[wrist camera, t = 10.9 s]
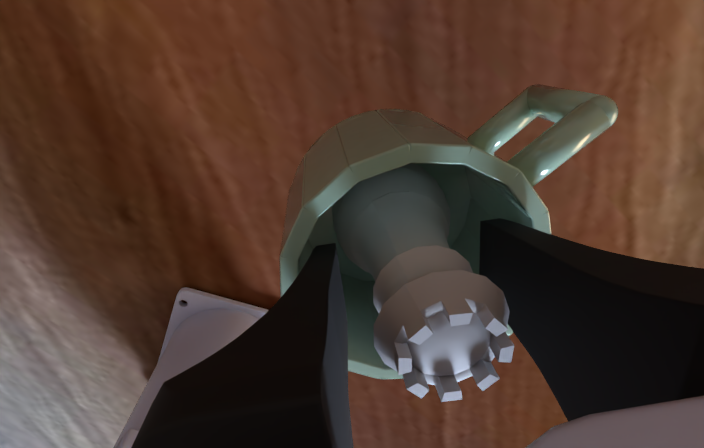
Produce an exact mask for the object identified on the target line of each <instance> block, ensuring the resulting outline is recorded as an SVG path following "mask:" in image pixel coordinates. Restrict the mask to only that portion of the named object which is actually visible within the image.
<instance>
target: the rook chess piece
mask: <svg viewBox="0 0 704 448" xmlns="http://www.w3.org/2000/svg"><path fill="white" fill-rule="evenodd" d="M332 210H333V224H334V230H335V232H336V234H337V240H338V242H339V244H340V245H341V247H342V249H343V251H344V252H345V254H346V256H347V257H348V258H349V260H350V261H352V262H353V263H355V264H356V265H357V266H359V267H360V268H361V269H363V270H364V271H365V272H369V273H370V274H371V275H372V276H373V278H374V280H375V284H374V287H373V302H374V306H375V308H376V309H377V311H378V313H379V315H378V317H377V319H376V321H375V323H374V347H375V349H376V351H377V352H378V354H379V356H380V357H381V359H382V361H383V362H384V364H386V365H387V366H389V367H391V368H392V369H394V370H395V371H397V372H398V375H401V374H402V375H403V378H404V381H405V385H406V389H407V390H409V391H410V392H412V393H414V394H415V395H417V396H419V397H420V398H423V396H424V395H425V394H426V393H427V392H428V391H429V388H428V385H427V384H431V385H435V386H436V389H437V392H438V395H439V397H440V400H441V402H444V401H453V400H461V399H462V394H461V390H460V387H459V385H458V383H457V382H459V381H461V380H464V379H466V378H468V377H471V376H473V377H474V379H475V381H476V383H477V385H478V386H479V387H480V389H481V390H482V391H484V390H485V389H486V388H488V387H489V386H490V385H492V384H493V383H494V382H496V381H497V380H498V379H500V378H499V376H498V374H497V373H496V371H495V369H494V367H493V366H492V364H491V361H492V360H493V358H494V357H496V358H497V360H498V362H511V359H512V354H513V349H514V344H513V343H512V341H511V340H510V338H509V337H508V335H507V334H506V331H507V330H509V329H508V328H507V323H508V318H509V312H510V311H509V308H508V305H507V302H506V299H505V296H504V293H503V291H502V290H501V289H500V288H498V287H497V286H496V285H495V284H494V283H493V282H492V281H490V280H489V279H488V278H487V277H486V276H482V275H478V274H475V273H473V271H472V269H471V266H470V263H469V262H468V261H467V260H466V259H465V258H464V257H463V256H461V255H460V254H459V253H458V252H457V251H455V250H452V249H450V248H449V245H448V242H447V237H448V235H449V228H450V215H451V214H450V208H449V206H448V203H447V200H446V198H445V195H444V192H443V190H442V189H441V188H440V187H439V185H438V183H437V181H436V180H435V179H434V178H433V177H432V176H431V175H430V174H429V173H428V172H427V171H426V170H425V169H424V168H423V167H421V166H418V165H416V164H413V163H409V164H406V165H404V166H401V167H398V168H396V169H393V170H390V171H387V172H385V173H382V174H379V175H376V176H374V177H371V178H368V179H365V180H363V181H360V182H358V183H357V184H356V185H355V186H353V187H352V188H351V189H350V190H349V191H348V192H347V193H345V194H344V195H343V196H342V197H341V198H340V199H339V200H338V201H336V202H335V203H334V206H333V209H332Z"/></svg>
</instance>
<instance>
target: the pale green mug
mask: <svg viewBox="0 0 704 448" xmlns="http://www.w3.org/2000/svg"><path fill="white" fill-rule="evenodd" d="M617 116H618V107H617V104H616V103H615V101H614V100H613V99H611V98H609V97H607V96H603V95H598V94H592V93H586V92H580V91H575V90H569V89H563V88H557V87H552V86H546V85H540V84H536V85H532V86H530V87H528V88H526V89H525V90H524V91H523V92H522V93H520V94H519V95H518V96H517V97H516V98H514V99H513V100H512V101H511V102H510V103H508V104H507V105H506V106H505V107H504V108H503V109H501V110H500V111H499V112H498V113H497V114H495V115H494V116H493V117H492V118H491V119H489V120H488V121H487V122H486V123H485V124H483V125H482V126H481V127H480V128H479V129H478V130H476V131H475V132H474V133H473V134H472V135H470V136H469V137H468V138H466V137H465V136H463V135H461V134H460V133H458V132H456V131H455V130H453V129H451V128H449V127H447V126H445V125H443V124H441V123H439V122H437V121H436V120H434V119H432V118H430V117H428V116H426V115H424V114H422V113H418V112H412V111H408V110H400V109H380V110H374V111H367V112H364V113H361V114H358V115H354V116H352V117H350V118H348V119H346V120H343V121H341V122H340V123H338V124H337V125H335V126H333V127H332V128H330V129H329V130H328V131H326V132H325V133H324V134H323V135H322V136H320V137H319V138H318V139H317V141H316V142H315V143H314V144H313V145H312V146H311V147H310V148H309V150H308V151H307V153H306V154H305V156H304V157H303V159H302V161H301V162H300V164H299V166H298V168H297V171H296V174H295V176H294V179H293V183H292V185H291V187H290V190H289V195H288V202H287V209H286V216H285V223H284V230H283V237H282V244H281V251H280V290H281V297H282V296H283V294H284V293H285V292H286V291H287V289H288V288H289V287H290V285H291V284H292V283H293V281H294V280H295V279H296V277H297V276H298V274H299V273H300V271H301V270H302V268H303V267H304V265H305V263H306V262H307V260H308V258H309V256H310V255H311V253H312V251H313V249H314V248H315V247H316V246H318V245H325V244H332V243H336V249H337V255H338V261H339V267H340V273H341V279H342V285H343V291H344V298H345V306H346V314H347V322H348V371H351V372H355V373H358V374H362V375H366V376H369V377H373V378H377V379H404V378H403V375H402V374H401V375H398V372H397V371H395V370H394V369H392V368H391V367H389V366H387V365H386V364H384V362H383V361H382V359H381V357H380V356H379V354H378V352H377V351H376V349H375V347H374V323H375V321H376V319H377V317H378V315H379V313H378V311H377V309H376V308H375V306H374V302H373V287H374V284H375V280H374V278H373V276H372V275H371V274H370V273H369V272H365V271H364V270H363V269H361V268H360V267H359V266H357V265H356V264H355V263H353V262H352V261H350V260H349V258H348V257H347V256H346V254H345V252H344V251H343V249H342V247H341V245H340V244H339V242H338V240H337V234H336V232H335V230H334V224H333V210H332V209H333V206H334V203H335V202H336V201H338V200H339V199H340V198H341V197H342V196H343V195H344V194H345V193H347V192H348V191H349V190H350V189H351V188H352V187H353V186H355V185H356V184H357V183H358V182H360V181H363V180H365V179H368V178H371V177H374V176H376V175H379V174H382V173H385V172H387V171H390V170H393V169H396V168H398V167H401V166H404V165H406V164H409V163H413V164H416V165H418V166H421V167H423V168H424V169H425V170H426V171H427V172H428V173H429V174H430V175H431V176H432V177H433V178H434V179H435V180H436V181H437V183H438V185H439V187H440V188H441V189H442V190H443V192H444V195H445V198H446V200H447V203H448V206H449V208H450V214H451V215H450V228H449V235H448V237H447V242H448V245H449V248H450V249H452V250H455V251H457V252H458V253H459V254H460V255H461V256H463V257H464V258H465V259H466V260H467V261H468V262H469V263H470V266H471V269H472V271H473V273H475V274H478V275H479V261H480V221H484V220H491V219H497V218H501V219H506V220H510V221H513V222H516V223H519V224H522V225H525V226H528V227H531V228H534V229H537V230H540V231H542V232H545V233H548V234H551V227H550V218H549V211H548V209H547V207H546V206H545V204H544V203H543V201H542V200H541V198H540V197H539V195H538V194H537V193H536V191H535V190H534V188H533V186H534V185H536V184H537V183H538V182H540V181H541V180H542V179H543V178H545V177H546V176H547V175H549V174H550V173H551V172H553V171H554V170H555V169H556V168H558V167H559V166H560V165H562V164H563V163H564V162H566V161H567V160H568V159H569V158H571V157H572V156H573V155H575V154H576V153H577V152H579V151H580V150H581V149H582V148H584V147H585V146H586V145H588V144H589V143H590V142H592V141H593V140H594V139H595V138H597V137H598V136H599V135H601V134H602V133H603V132H605V131H606V130H607V129H609V128H610V127H611V126H612V125H613V124H614V122H615V121H616V119H617ZM537 117H539V118H542V119H545V120H548V121H551V122H555V124H554V125H552V126H551V127H550V128H549V129H547V130H546V131H545V132H544V133H542V134H541V135H540V136H539V137H537V138H536V139H535V140H534V141H533V142H531V143H530V144H529V145H528V146H526V147H525V148H524V149H523V150H521V151H520V152H519V153H518V154H516V155H515V156H514V157H513V158H511V159H510V160H509V161H508V162H507V161H505V160H503V159H502V158H500V157H498V156H496V155H495V154H493V153H494V152H495V151H496V150H497V149H499V148H500V147H501V146H502V145H504V144H505V143H506V142H507V141H508V140H510V139H511V138H512V137H513V136H515V135H516V134H517V133H518V132H519V131H521V130H522V129H523V128H524V127H526V126H527V125H528V124H529V123H531V122H532V121H533V120H534V119H535V118H537ZM507 328H508V329H509V330H507V331H506V334H507V335H508V337H509V336H510V335H511V334H512V333H513V331H512V329H511V328H510V326H509V325H508V324H507Z"/></svg>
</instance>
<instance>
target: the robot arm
mask: <svg viewBox="0 0 704 448" xmlns="http://www.w3.org/2000/svg"><path fill="white" fill-rule="evenodd" d="M479 275H482V276H486V277H487V278H488V279H489V280H490V281H492V282H493V283H494V284H495V285H496V286H497V287H498V288H500V289H501V290H502V291H503V293H504V296H505V299H506V302H507V305H508V308H509V311H510V312H509V318H508V323H507V324H508V325H509V326H510V328H511V329H512V331H513V332H514V333H515V335H516V336H517V337H518V339H519V340H520V342H521V343H522V344H523V346H524V347H525V349H526V350H527V351H528V353H529V354H530V356H531V357H532V358H533V360H534V362H535V363H536V365H537V366H538V368H539V369H540V371H541V373H542V374H543V376H544V378H545V380H546V381H547V383H548V385H549V387H550V388H551V390H552V392H553V394H554V395H555V397H556V399H557V401H558V403H559V405H560V406H561V408H562V410H563V412H564V414H565V416H566V418H567V420H568V422H565V423H563V424H560V425H557V426H554V427H552V428H550V429H549V430H548V431H547V432H545V433H544V434H543V435H541V436H540V437H539V438H538V439H536V440H535V441H534V442H532V443H531V444H530V445H528V446H527V447H526V448H704V269H702V268H694V267H686V266H680V265H674V264H667V263H661V262H655V261H649V260H644V259H639V258H634V257H630V256H625V255H621V254H616V253H612V252H608V251H604V250H600V249H596V248H593V247H589V246H586V245H583V244H579V243H576V242H572V241H569V240H566V239H563V238H560V237H557V236H554V235H551V234H548V233H545V232H542V231H540V230H537V229H534V228H531V227H528V226H525V225H522V224H519V223H516V222H513V221H510V220H506V219H501V218H497V219H491V220H484V221H480V261H479ZM181 300H185V301H186V302H187V303H183V302H182V301H181ZM114 448H353V439H352V429H351V419H350V409H349V398H348V322H347V314H346V306H345V298H344V291H343V285H342V279H341V273H340V267H339V261H338V255H337V249H336V243H332V244H325V245H318V246H316V247H315V248H314V249H313V251H312V253H311V255H310V256H309V258H308V260H307V262H306V263H305V265H304V267H303V268H302V270H301V271H300V273H299V274H298V276H297V277H296V279H295V280H294V281H293V283H292V284H291V285H290V287H289V288H288V289H287V291H286V292H285V293H284V294H283V296H282V297H281V298H280V299H279V300H278V302H277V303H276V304H275V305H274V306H273V307H272V308H271V309H270V310H267V309H264V308H260V307H257V306H253V305H249V304H246V303H242V302H239V301H235V300H231V299H228V298H224V297H220V296H217V295H213V294H210V293H206V292H202V291H199V290H195V289H192V288H187V287H184V288H181V289H180V290H179V292H178V293H177V296H176V299H175V303H174V307H173V310H172V314H171V317H170V321H169V324H168V328H167V332H166V335H165V339H164V342H163V346H162V349H161V353H160V357H159V360H158V364H157V366H156V368H155V370H154V371H153V373H152V375H151V377H150V379H149V381H148V383H147V385H146V387H145V389H144V391H143V392H142V394H141V396H140V398H139V400H138V402H137V404H136V406H135V408H134V410H133V412H132V414H131V415H130V417H129V419H128V421H127V423H126V425H125V427H124V429H123V431H122V433H121V435H120V436H119V438H118V440H117V442H116V444H115V446H114Z"/></svg>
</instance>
